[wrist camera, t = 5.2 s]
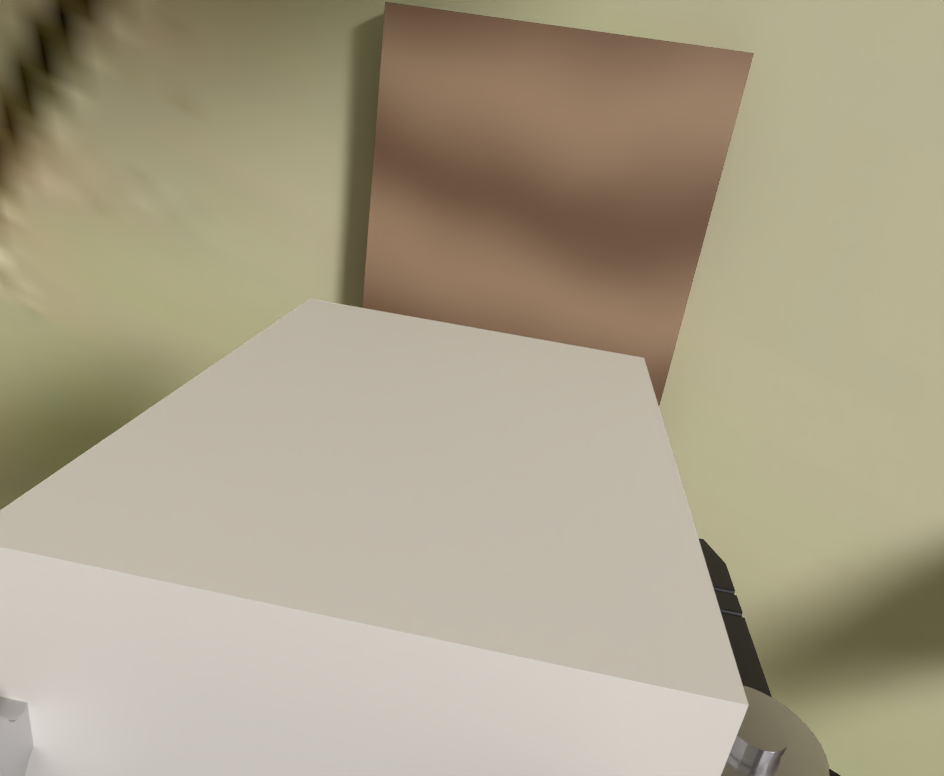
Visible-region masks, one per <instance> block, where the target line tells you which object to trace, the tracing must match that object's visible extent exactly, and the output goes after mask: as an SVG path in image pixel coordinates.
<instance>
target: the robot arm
mask: <svg viewBox="0 0 944 776" xmlns="http://www.w3.org/2000/svg"><path fill="white" fill-rule="evenodd" d="M699 542H700V545H701V548H702V552H703V555H704V558H705V562H706V565H707V568H708V572H709V575H710V578H711V582H712V585H713V588H714V592H715V595H716V598H717V602H718V605H719V608H720V611H721V615H722V618H723V621H724V625H725V628H726V631H727V635H728V638H729V641H730V645H731V648H732V651H733V655H734V658H735V661H736V665H737V668H738V671H739V675H740V678H741V681H742V685H743V688H744V691H745V694H746V698H747V701H748V704H749V706H748V708H747V711H746V713H745V716H744V719H743V721H742V724H741V726H740V729H739V731H738V734H737V736H736V739H735V741H734V744H733V746H732V749H731V751H730V754H729V756H728V759H727V761H726V764H725V766H724V769H723V771H722V774H721V776H840V775H838V774H837V773H835V772H834V771H832V770H831V769H829V765H828V761H827V758H826V755H825V752H824V750H823V748H822V746H821V744H820V743H819V741H818V740H817V738H816V736H815V735H814V734H813V732H812V731H811V730H810V729H809V728H808V726H807V725H806V724H805V723H804V722H803V721H802V720H801V719H800V718H799V717H798V716H797V715H796V714H795V713H793V712H792V711H791V710H789V709H788V708H787V707H786V706H784V705H783V704H781V703H780V702H778V701H777V700H775V699H774V698H772V697H771V694H770V691H769V688H768V685H767V682H766V679H765V676H764V673H763V671H762V668H761V665H760V662H759V659H758V656H757V653H756V650H755V647H754V644H753V642H752V639H751V636H750V633H749V630H748V627H747V624H746V621H745V618H742V610H741V607H740V604H739V601H738V598H737V596H736V595H734V591H735V589H734V587H733V584H732V581H731V578H730V575H729V572H728V569H727V566H726V564H725V563H724V562H723V561H722V559H721V558H720V557H719V556H718V555H717V554H716V553H715V552H714V551H713V549H712V548H711V547H710V546H709V545H708V544H707V543H706V542H705V541H704V539H699ZM32 749H33V739H32V732H31V725H30V718H29V711H28V704H27V702H22V701H18V700H13V699H9V698H5V697H0V776H25V773H26V768H27V764H28V761H29V758H30V755H31V752H32Z"/></svg>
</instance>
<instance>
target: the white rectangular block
mask: <svg viewBox="0 0 944 776" xmlns="http://www.w3.org/2000/svg"><path fill="white" fill-rule="evenodd" d="M0 697H5V698H9V699H13V700H18V701H22V702H27V704H28V711H29V718H30V725H31V732H32V739H33V749H32V752H31V755H30V758H29V761H28V764H27V768H26V773H25V776H721V774H722V771H723V769H724V766H725V764H726V761H727V759H728V756H729V754H730V751H731V749H732V746H733V744H734V741H735V739H736V736H737V734H738V731H739V729H740V726H741V724H742V721H743V719H744V716H745V713H746V711H747V708H748V706H749V704H748V701H747V698H746V694H745V691H744V688H743V685H742V681H741V678H740V675H739V671H738V668H737V665H736V661H735V658H734V655H733V651H732V648H731V645H730V641H729V638H728V635H727V631H726V628H725V625H724V621H723V618H722V615H721V611H720V608H719V605H718V602H717V598H716V595H715V592H714V588H713V585H712V582H711V578H710V575H709V572H708V568H707V565H706V562H705V558H704V555H703V552H702V548H701V545H700V542H699V538H698V535H697V532H696V529H695V525H694V522H693V519H692V515H691V512H690V509H689V505H688V502H687V499H686V495H685V492H684V489H683V485H682V482H681V479H680V475H679V472H678V469H677V465H676V462H675V459H674V455H673V452H672V449H671V446H670V442H669V439H668V436H667V432H666V429H665V426H664V422H663V419H662V416H661V412H660V409H659V406H658V402H657V399H656V396H655V392H654V389H653V386H652V382H651V379H650V376H649V372H648V369H647V366H646V363H645V359H644V358H643V357H637V356H631V355H626V354H620V353H614V352H609V351H603V350H597V349H592V348H586V347H581V346H575V345H569V344H564V343H558V342H552V341H547V340H541V339H535V338H530V337H524V336H518V335H513V334H507V333H502V332H496V331H490V330H485V329H479V328H473V327H468V326H462V325H456V324H451V323H445V322H440V321H434V320H428V319H423V318H417V317H411V316H406V315H400V314H394V313H389V312H383V311H378V310H372V309H366V308H361V307H355V306H349V305H344V304H338V303H332V302H327V301H321V300H316V299H308V300H307V301H305V302H304V303H302V304H301V305H300V306H298V307H297V308H295V309H294V310H292V311H291V312H289V313H288V314H286V315H285V316H283V317H282V318H280V319H279V320H278V321H276V322H275V323H273V324H272V325H270V326H269V327H267V328H266V329H264V330H263V331H261V332H260V333H259V334H257V335H256V336H254V337H253V338H251V339H250V340H248V341H247V342H245V343H244V344H242V345H241V346H240V347H238V348H237V349H235V350H234V351H232V352H231V353H229V354H228V355H226V356H225V357H223V358H222V359H221V360H219V361H218V362H216V363H215V364H213V365H212V366H210V367H209V368H207V369H206V370H204V371H203V372H202V373H200V374H199V375H197V376H196V377H194V378H193V379H191V380H190V381H188V382H187V383H185V384H184V385H183V386H181V387H180V388H178V389H177V390H175V391H174V392H172V393H171V394H169V395H168V396H166V397H165V398H163V399H162V400H161V401H159V402H158V403H156V404H155V405H153V406H152V407H150V408H149V409H147V410H146V411H144V412H143V413H142V414H140V415H139V416H137V417H136V418H134V419H133V420H131V421H130V422H128V423H127V424H125V425H124V426H123V427H121V428H120V429H118V430H117V431H115V432H114V433H112V434H111V435H109V436H108V437H106V438H105V439H104V440H102V441H101V442H99V443H98V444H96V445H95V446H93V447H92V448H90V449H89V450H87V451H86V452H85V453H83V454H82V455H80V456H79V457H77V458H76V459H74V460H73V461H71V462H70V463H68V464H67V465H66V466H64V467H63V468H61V469H60V470H58V471H57V472H55V473H54V474H52V475H51V476H49V477H48V478H46V479H45V480H44V481H42V482H41V483H39V484H38V485H36V486H35V487H33V488H32V489H30V490H29V491H27V492H26V493H25V494H23V495H22V496H20V497H19V498H17V499H16V500H14V501H13V502H11V503H10V504H8V505H7V506H6V507H4V508H3V509H1V510H0Z"/></svg>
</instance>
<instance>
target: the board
mask: <svg viewBox="0 0 944 776" xmlns="http://www.w3.org/2000/svg"><path fill="white" fill-rule="evenodd" d="M753 54H754V53H749V52H741V51H734V50H727V49H720V48H712V47H705V46H698V45H691V44H684V43H676V42H669V41H662V40H655V39H648V38H640V37H633V36H626V35H619V34H612V33H604V32H597V31H590V30H583V29H576V28H568V27H561V26H554V25H547V24H540V23H532V22H525V21H518V20H511V19H504V18H496V17H489V16H482V15H475V14H468V13H460V12H453V11H446V10H439V9H432V8H424V7H417V6H410V5H403V4H396V3H388V2H385V12H384V25H383V38H382V52H381V65H380V78H379V91H378V105H377V118H376V131H375V145H374V158H373V171H372V185H371V198H370V211H369V224H368V238H367V251H366V264H365V278H364V291H363V304H362V308H366V309H372V310H378V311H383V312H389V313H394V314H400V315H406V316H411V317H417V318H423V319H428V320H434V321H440V322H445V323H451V324H456V325H462V326H468V327H473V328H479V329H485V330H490V331H496V332H502V333H507V334H513V335H518V336H524V337H530V338H535V339H541V340H547V341H552V342H558V343H564V344H569V345H575V346H581V347H586V348H592V349H597V350H603V351H609V352H614V353H620V354H626V355H631V356H637V357H643V358H644V359H645V363H646V366H647V369H648V372H649V376H650V379H651V382H652V386H653V389H654V392H655V396H656V399H657V402H658V406H659V405H660V401H661V397H662V393H663V390H664V386H665V382H666V379H667V375H668V371H669V367H670V364H671V360H672V356H673V352H674V349H675V345H676V341H677V338H678V334H679V330H680V326H681V323H682V319H683V315H684V311H685V308H686V304H687V300H688V297H689V293H690V289H691V285H692V282H693V278H694V274H695V270H696V267H697V263H698V259H699V256H700V252H701V248H702V244H703V241H704V237H705V233H706V229H707V226H708V222H709V218H710V215H711V211H712V207H713V203H714V200H715V196H716V192H717V188H718V185H719V181H720V177H721V174H722V170H723V166H724V162H725V159H726V155H727V151H728V147H729V144H730V140H731V136H732V133H733V129H734V125H735V121H736V118H737V114H738V110H739V106H740V103H741V99H742V95H743V92H744V88H745V84H746V80H747V77H748V73H749V69H750V65H751V62H752V58H753Z"/></svg>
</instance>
